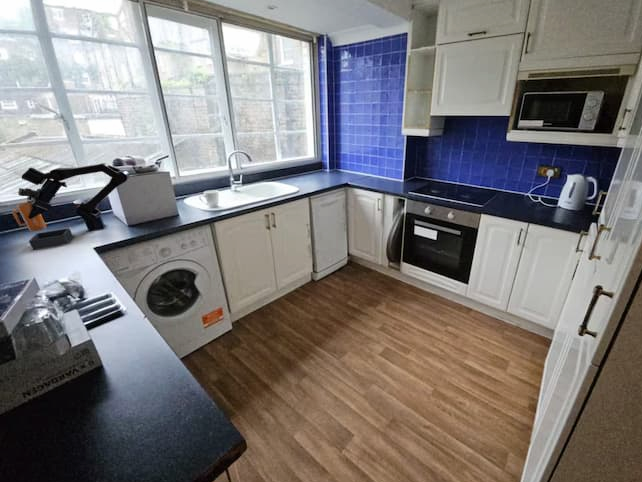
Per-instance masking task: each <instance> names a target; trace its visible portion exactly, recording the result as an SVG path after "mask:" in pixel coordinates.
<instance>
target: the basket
mask: <svg viewBox="0 0 642 482" xmlns="http://www.w3.org/2000/svg"><path fill="white" fill-rule="evenodd" d="M73 237H74V235H73V233H72V230H71V229H70V228H69V227H68V228H62V229H61V228H60V229H56V230H50V231H49V230H48V231H43V232H37V233H35V234H34V235H33V236H32V237H31V238H30V239H29V240H28V244H29V245H30V246H31V249H32V250H33V251H35V250H41V249H46V248H51V247H58V246H62V245H68V244H69V243H70V242H71V240H72V239H73Z"/></svg>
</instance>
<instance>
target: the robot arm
mask: <svg viewBox="0 0 642 482" xmlns="http://www.w3.org/2000/svg"><path fill="white" fill-rule="evenodd" d="M96 173H104V174H105V175H107V176H108V177H110V180H109V182H108V183H107V184H106V185H105V186H104V187H103V188H101V189H100V190H99V191H98V193H96V194H95V195H94V196H93V197H91V198H92V199H91V200H90V201H88V200H85V201H83V202H82V203H81V204H80V205H79V206H78V207H77V206H76V209H75V213H76V215H77V216H78V217H80V218H81V219H83V220H84V221H85V222H84V223H85V226H86V228H87V230H88V232H93V231H97V230H104V229H105V228H106V224H105V223H104V220H103V218H102V211H101V210H99V209H98V207H99V204H100V203H102V201H103V200H105V199H106V198H107V197H108V196H109V195H110V194H111V193H112V192H113V191H115V189H116V188H117V187H119V186H121V185H122V184H125V183H126V182H127V181H128V180H129V179H130V178H131V175H130V173H129V171H126V170H124V169H120V168H118V167H115V166H112V165H110V164H108V163H105V162H101V163H98V164H97V163H96V164H92V165H91V164H90V165H85V166H84V165H83V166H78V167H57V168H53V169H51V170H50V171H48V172H42V171H41V170H38V169H36V168H35V167H29V168H28V169H27V170H25V172H24V173H22V175H21V180H24V181H26V182H29V183H31V184H33V185H36V186H38V185H41V187H39V188H37V189H36V190H35V189H31V188H28V187H25V188H21V187H19V188H18V192H17V195H18V196H20V197H26V202H27V203H29V202H32V204H31V205H32V210H31V212H30V214H29V216H28V218H29V219H32V218H34V217H35V216H37V215H39V214H41V215H42V213H45V212H47V211H51V209H52V208H53V206H52V204H51V201H52V200H53V198H55V197H56V196H57V195H56V194H57V193H58V192H59V190H60V189H61V187H63V188H68V185H67V182H66V180H67V179H71V178H73V177H77V176H83V175H90V174H96ZM129 177H130V178H129ZM96 208H97V209H98V210H97V209H96Z"/></svg>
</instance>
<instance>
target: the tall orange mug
mask: <svg viewBox="0 0 642 482" xmlns="http://www.w3.org/2000/svg"><path fill="white" fill-rule="evenodd" d="M31 204H32V202H29V203H28V202H24V203H23V202H22V203H19V204H17V205H16V208H17V209H12V210H11V213H12V215H13V217H14V219H15V220H16V223H17V224H18V226H19V227H25V226H26V228H27V229H28V231H29V232H37V231H41V230H45V229H47V228H48V227H47V224H46V222H45V220H44V218H43V216H42V213H41V214H39V215H37V216H35V217H34V218H32V219H29V218H28V216H29V214H30V212H31V210H32V205H31ZM18 212H19V213H20V215H21V217H22V219H23V221H24V223H22V222H21V220H20V218H19V215H17V213H18Z"/></svg>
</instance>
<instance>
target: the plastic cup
mask: <svg viewBox="0 0 642 482" xmlns="http://www.w3.org/2000/svg"><path fill="white" fill-rule="evenodd" d="M92 198H93V197H85V198H79V199H75V200H73V204H74V205H75V206H76V207H78V206H79V205H80V204H81V203H82V202H83V201H85V200H88V201H90V200H91V199H92ZM96 209H97V210H99V208H98V207H97V208H96Z"/></svg>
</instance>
